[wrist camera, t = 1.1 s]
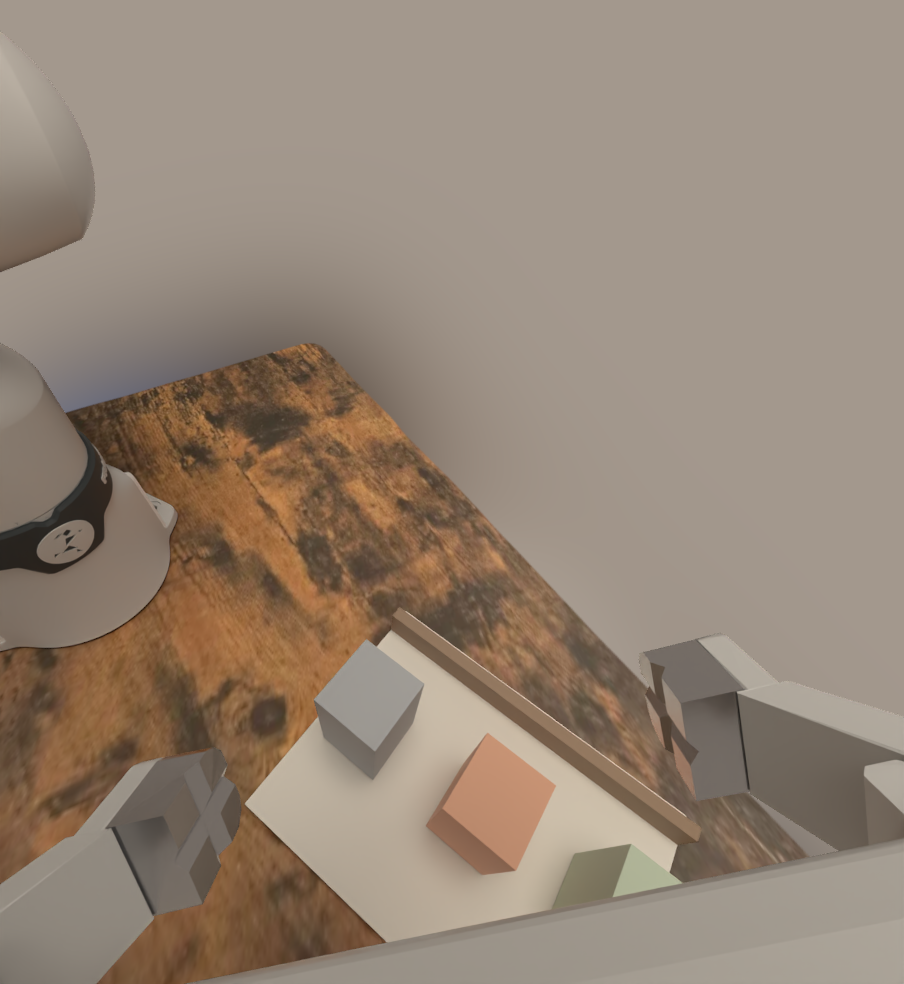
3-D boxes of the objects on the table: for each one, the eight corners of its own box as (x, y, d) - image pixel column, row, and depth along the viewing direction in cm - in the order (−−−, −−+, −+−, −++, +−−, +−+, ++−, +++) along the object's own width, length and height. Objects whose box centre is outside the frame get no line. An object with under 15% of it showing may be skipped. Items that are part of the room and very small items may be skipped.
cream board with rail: (247, 806, 37) (236, 797, 33) (405, 616, 48) (408, 596, 44) (582, 1131, 29) (609, 1161, 26) (678, 817, 40) (706, 811, 37)
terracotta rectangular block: (425, 825, 36) (442, 808, 28) (463, 763, 39) (487, 732, 31) (482, 875, 35) (515, 870, 27) (517, 807, 38) (556, 785, 30)
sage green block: (543, 928, 33) (597, 939, 26) (574, 853, 36) (631, 843, 29) (610, 985, 32) (688, 1016, 24) (637, 903, 35) (714, 907, 27)
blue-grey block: (323, 737, 39) (313, 699, 31) (365, 685, 42) (366, 639, 34) (372, 780, 37) (375, 751, 30) (413, 723, 40) (424, 683, 33)
